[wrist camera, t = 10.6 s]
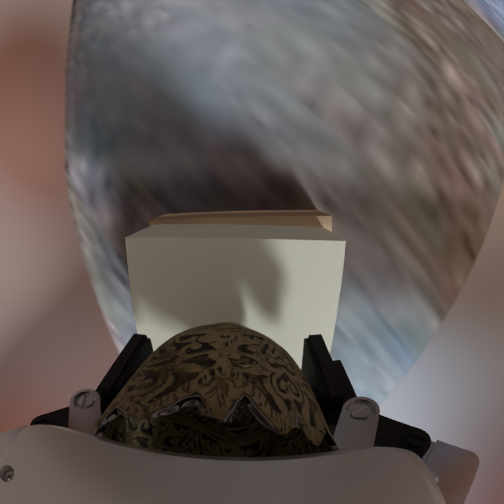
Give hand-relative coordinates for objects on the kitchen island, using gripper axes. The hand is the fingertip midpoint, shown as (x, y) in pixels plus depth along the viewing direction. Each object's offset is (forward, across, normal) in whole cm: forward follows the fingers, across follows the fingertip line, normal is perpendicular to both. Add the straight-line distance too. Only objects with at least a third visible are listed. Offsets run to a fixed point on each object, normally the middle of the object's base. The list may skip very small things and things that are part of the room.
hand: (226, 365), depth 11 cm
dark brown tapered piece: (+2, 0, 0) cm, 2 cm away
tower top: (+7, 0, 0) cm, 7 cm away
